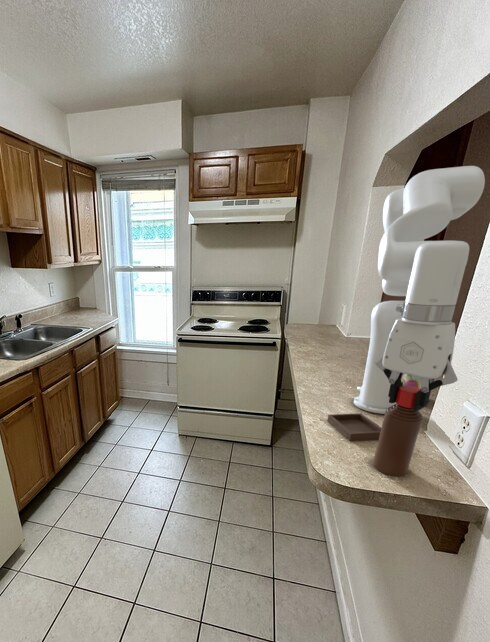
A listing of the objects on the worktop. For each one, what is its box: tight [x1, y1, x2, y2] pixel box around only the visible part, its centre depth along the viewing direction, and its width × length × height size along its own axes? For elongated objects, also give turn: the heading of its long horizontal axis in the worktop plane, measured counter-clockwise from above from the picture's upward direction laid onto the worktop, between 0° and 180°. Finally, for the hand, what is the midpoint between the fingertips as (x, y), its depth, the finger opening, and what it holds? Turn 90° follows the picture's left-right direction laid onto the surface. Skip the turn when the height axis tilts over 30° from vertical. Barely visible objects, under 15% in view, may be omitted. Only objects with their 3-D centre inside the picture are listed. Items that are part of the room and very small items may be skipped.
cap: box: [396, 386, 420, 408], centre depth 71 cm, size 4×4×3 cm
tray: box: [326, 412, 382, 442], centre depth 94 cm, size 11×9×2 cm
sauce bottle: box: [372, 404, 424, 477], centre depth 74 cm, size 6×6×18 cm
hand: (406, 404), depth 71 cm, fingers closed on cap, 3 cm apart
